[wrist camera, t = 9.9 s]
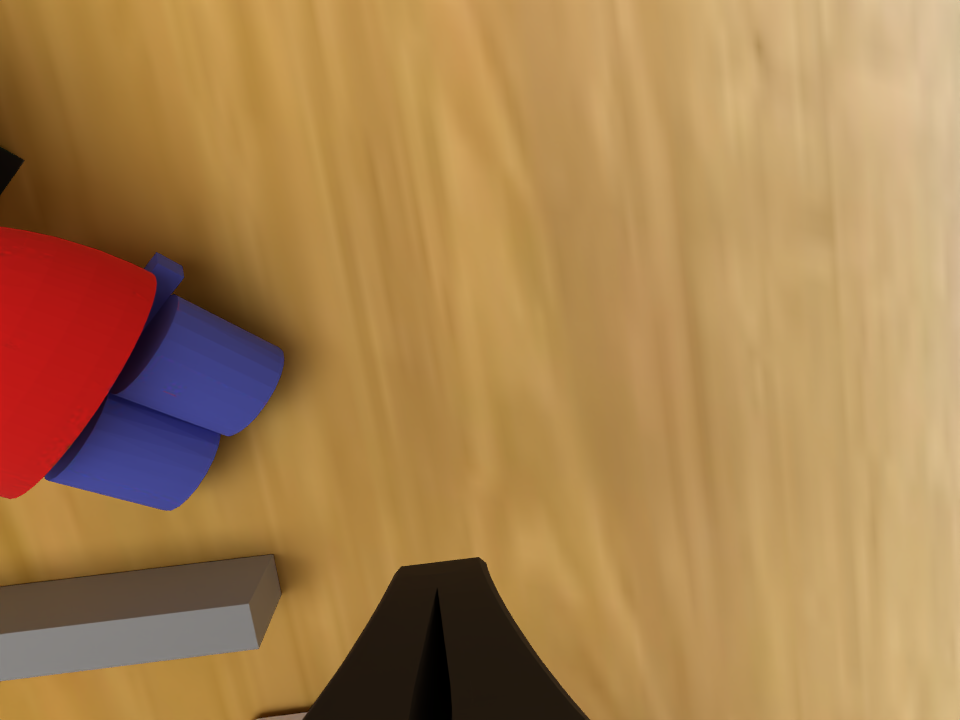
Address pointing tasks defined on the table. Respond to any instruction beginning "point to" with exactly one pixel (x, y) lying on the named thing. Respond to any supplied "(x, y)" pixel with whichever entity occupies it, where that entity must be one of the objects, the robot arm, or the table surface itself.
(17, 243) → the toy
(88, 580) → the bay
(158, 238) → the table surface
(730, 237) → the table surface
